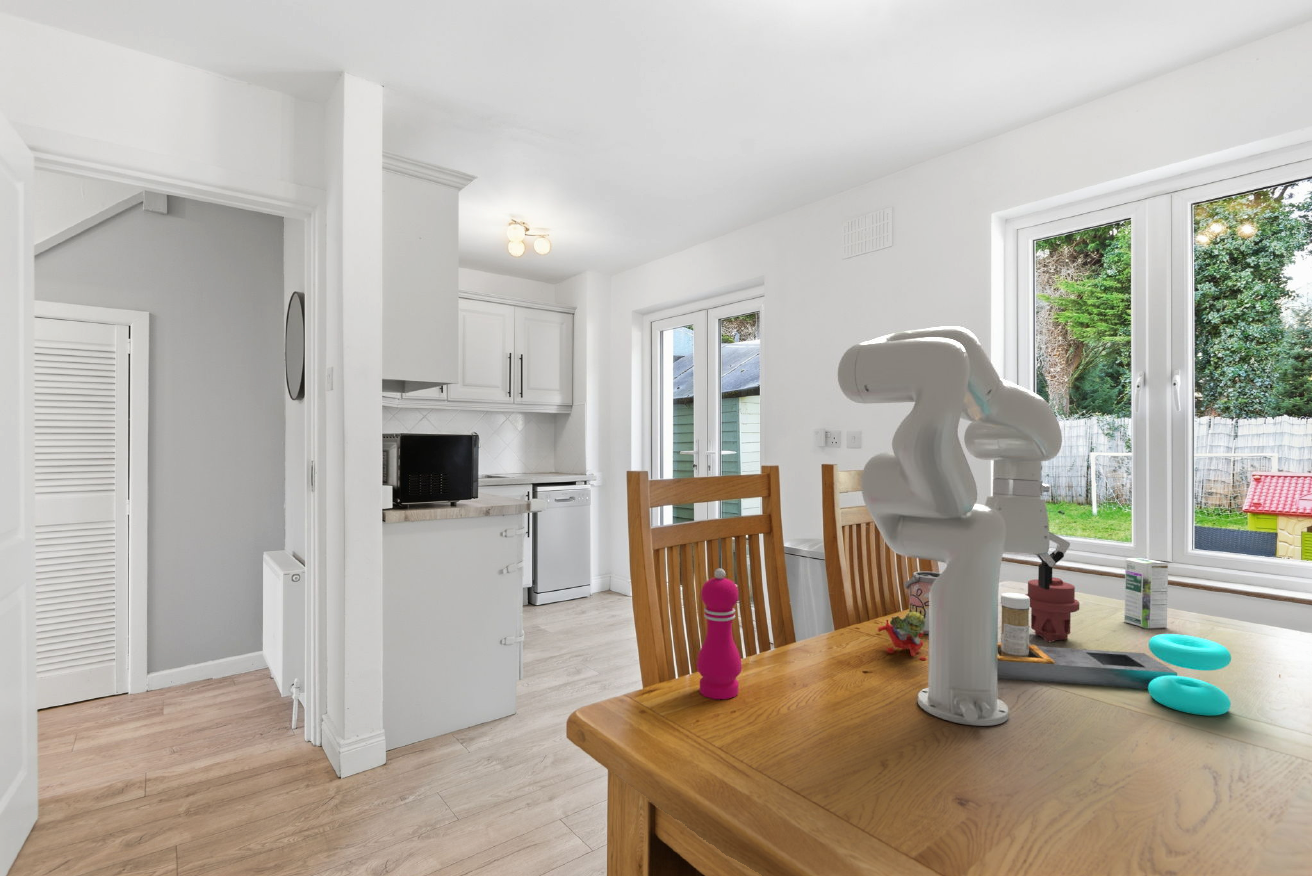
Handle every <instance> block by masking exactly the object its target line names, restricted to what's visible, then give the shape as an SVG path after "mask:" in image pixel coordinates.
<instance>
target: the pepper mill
mask: <svg viewBox="0 0 1312 876" xmlns="http://www.w3.org/2000/svg"><path fill="white" fill-rule="evenodd" d="M714 576H715V577H711V578H710V579H708V580H706V582H704V584H703V586H702V587H701V592H700V593H701V594H700V597H701V600H702V602H703V604H704V605H705V607H704V609H703V610H704V614H703V617H704V618H705V619H706V623H707V624H706V625H707V627H706V635H705V639H704V642H703V644H702V646H701V648H700V651H699V653H698V656H697V661H696V668H697V672H698V673H699V674H700V676H701V678H700V679H699V693H700V694H701V695H702V696H703V697H705V698H708V699H711V700H713V699H714V700H720V699H722V700H729V698H731V699H733V698H735V697H737V696H738V695H739V686H740V685H739V681H738V680H737V679H736V678H737V677H739V676H740V674H741V672H742V668H743V667H742V659H741V654H740V652H739V649H738V647H737V645H736V643H735V640H734V636H733V628H732V627H733V626H732V625H733V620H734V619H735V618H736V614H735V612H736V609H735V608H734V607H735V605H736V604H737V602H738V600H739V589H738V587H737V585H736V584H735V582H734V581H732V580H730V579H729V578H725V577H726V571H725V570H724V569H723V568H717V569H715V571H714ZM737 694H738V695H737ZM736 695H737V696H736ZM732 697H733V698H732Z"/></svg>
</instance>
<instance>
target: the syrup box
mask: <svg viewBox="0 0 1312 876" xmlns="http://www.w3.org/2000/svg"><path fill="white" fill-rule="evenodd" d="M1124 563H1125V564H1124V565H1125V566H1124V567H1125V568H1124V569H1125V570H1124V573H1125V575H1124V613H1123V614H1124V617H1123V622H1124V623H1126V624H1127V623H1128V624H1131V625H1135V626H1137V627H1140V628H1143V629H1147V630H1149V629H1150V630H1151V629H1161V628H1168V596H1169V595H1168V589H1169V587H1168V586H1169V562H1163V561H1158V560H1154V559H1153V560H1152V559H1149V558H1148V559H1147V558H1144V557H1143V558H1142V557H1129V558H1126V559H1125V562H1124Z"/></svg>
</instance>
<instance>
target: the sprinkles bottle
mask: <svg viewBox="0 0 1312 876" xmlns="http://www.w3.org/2000/svg"><path fill="white" fill-rule="evenodd" d="M1000 605H1001V628H1000V629H1001V631H1000V643H1001V656H1013V657H1028V654H1029V645H1030V625H1029V624H1030V623H1029V620H1030V619H1029V611H1030V608H1031V607H1030V598H1029V597H1028V596H1026V595H1025V594H1023V593H1017V592H1003V593H1001V594H1000Z"/></svg>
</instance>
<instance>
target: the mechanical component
mask: <svg viewBox="0 0 1312 876" xmlns="http://www.w3.org/2000/svg"><path fill="white" fill-rule="evenodd" d="M1075 587H1076V586H1075V585H1073V584H1071V583H1068V582H1065V581H1063V579H1061V578H1060V577H1059V578H1058V577H1053V576H1052V584H1050V588H1049V590H1045V589H1043V588H1041V587H1039V586H1038V578H1037V579H1031V580H1028V581H1027V593H1026V594H1024V595H1026V596H1028V597H1029V598H1030V607H1029V608H1030V609H1031V610H1030V611H1031V613H1030V615H1031V616H1030V619H1031V620H1030V623H1031V624H1030V629H1032V630H1034V633H1035V635H1037V636H1039V637H1041V638H1043V640H1044V641H1045V642H1048V643H1053V642H1054V641H1062V640H1067V639H1069V637H1068V636H1069V635H1070V634H1071V616H1072V615H1071V613H1075V612H1078V611H1079V610H1080V601H1079V600H1077V599H1076V598H1075V594H1076V590H1075V589H1076V588H1075Z"/></svg>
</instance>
